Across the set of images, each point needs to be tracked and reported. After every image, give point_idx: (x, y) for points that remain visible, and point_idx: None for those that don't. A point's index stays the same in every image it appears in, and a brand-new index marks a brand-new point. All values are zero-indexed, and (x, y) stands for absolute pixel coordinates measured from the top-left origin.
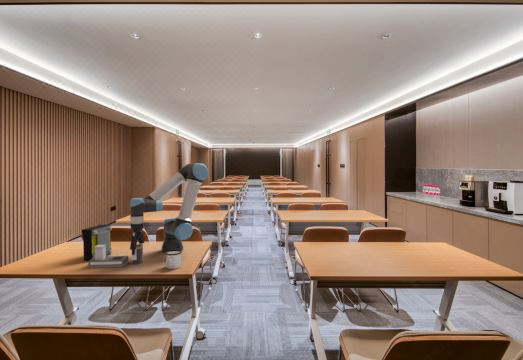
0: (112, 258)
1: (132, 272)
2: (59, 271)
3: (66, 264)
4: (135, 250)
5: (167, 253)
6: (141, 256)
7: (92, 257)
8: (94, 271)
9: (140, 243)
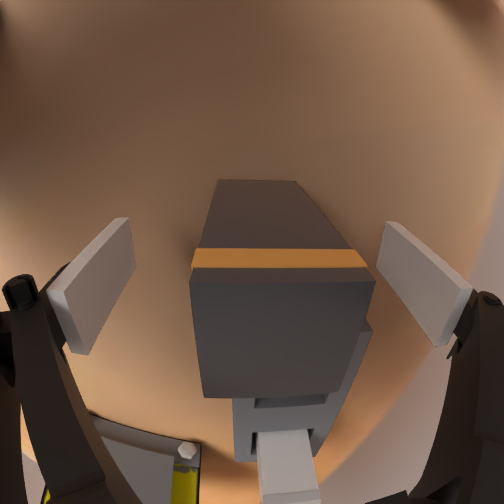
0: (294, 406)
1: (482, 197)
2: (325, 461)
3: (243, 473)
4: (460, 284)
5: None
6: (254, 196)
7: (199, 458)
8: (380, 391)
9: (62, 329)
